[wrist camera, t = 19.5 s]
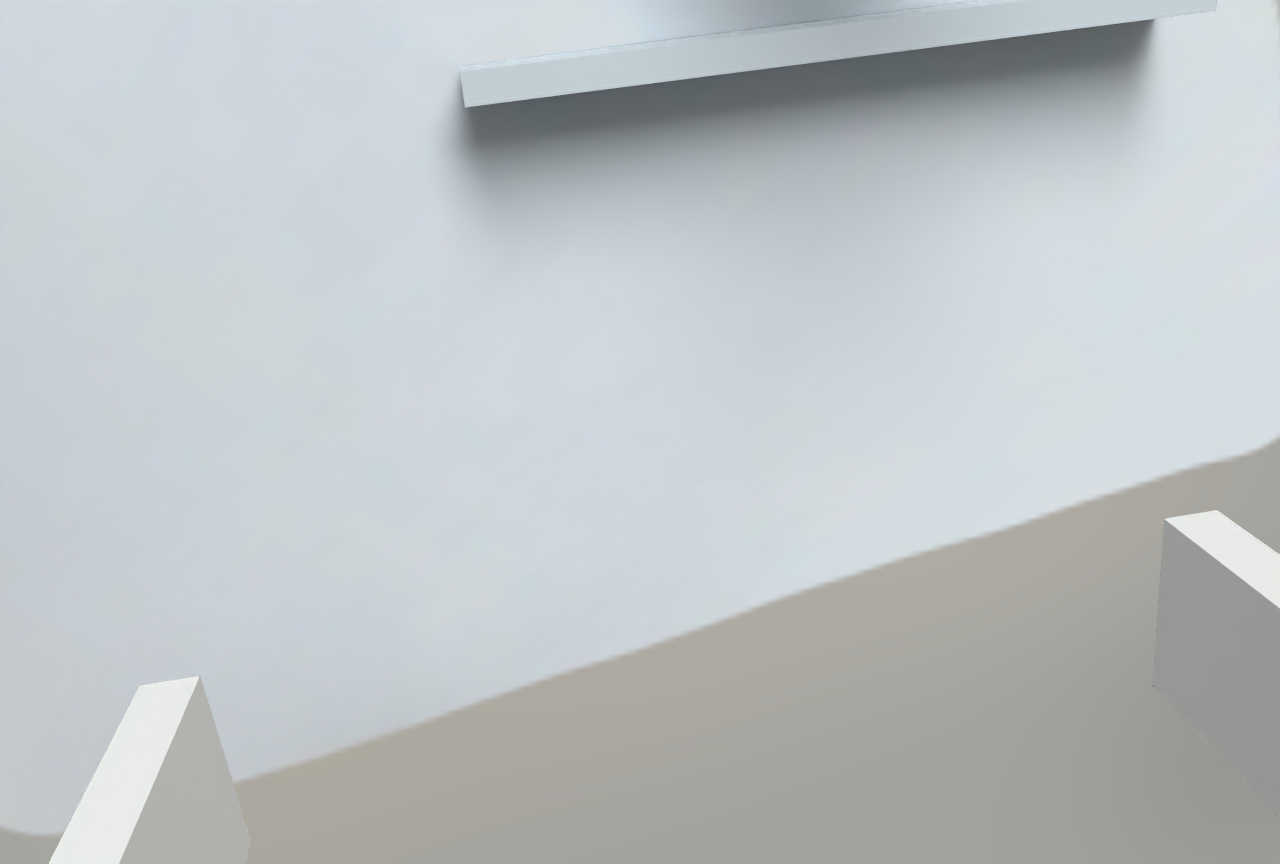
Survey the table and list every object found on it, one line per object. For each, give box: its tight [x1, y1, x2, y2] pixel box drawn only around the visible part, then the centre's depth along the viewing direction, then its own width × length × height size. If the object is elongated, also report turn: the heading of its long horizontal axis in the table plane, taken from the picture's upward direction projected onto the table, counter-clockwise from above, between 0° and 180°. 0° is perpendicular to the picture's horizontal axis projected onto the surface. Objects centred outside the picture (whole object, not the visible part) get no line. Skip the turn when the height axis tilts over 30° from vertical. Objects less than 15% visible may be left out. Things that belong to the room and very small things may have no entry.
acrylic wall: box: [459, 0, 1217, 107], centre depth 42 cm, size 28×1×4 cm, turn 97°
